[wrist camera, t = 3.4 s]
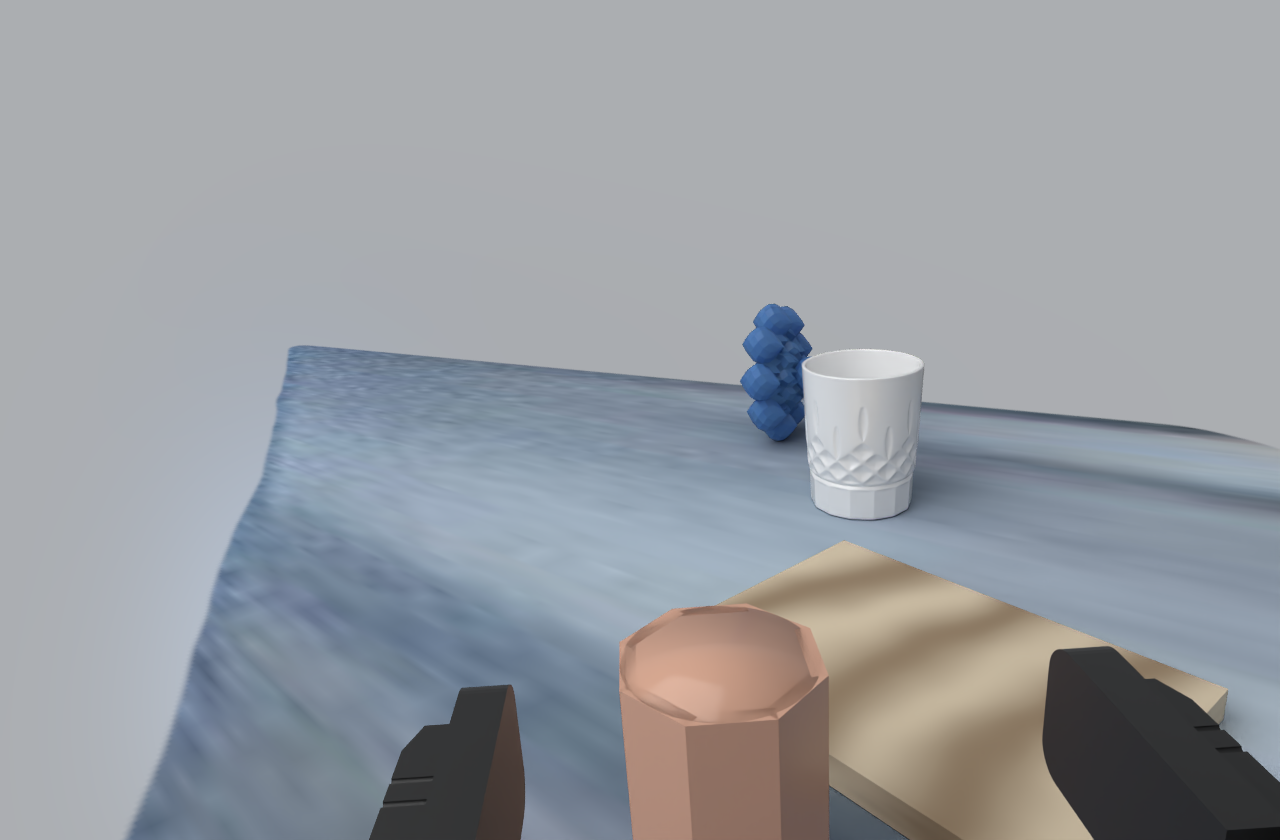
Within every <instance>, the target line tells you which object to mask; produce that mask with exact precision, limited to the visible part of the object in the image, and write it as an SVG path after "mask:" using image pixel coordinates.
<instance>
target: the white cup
mask: <svg viewBox="0 0 1280 840" xmlns="http://www.w3.org/2000/svg"><path fill="white" fill-rule="evenodd" d="M923 375H924V362H923V361H922V360H921V359H920V358H918V357H916V356H913V355H910V354H907V353H902V352H897V351H890V350H877V349H852V350H840V351H832V352H827V353H822V354H818V355H815V356H812V357H810V358H808V359H806V360H805V361H804V362H803V363H802V378H803V394H804V412H805V430H806V441H807V454H808V463H809V467H810V481H811V497H812V500H813V502H814V504H815V506H816V507H817V508H819V509H821V510H822V511H824V512H826V513H828V514H830V515H834V516H838V517H843V518H847V519H860V520H875V519H881V518H882V519H883V518H887V517H892V516H895V515H897V514H899V513H901V512H903V511H905V510H907V509H908V506H909V504H910V501H911V497H912V483H913V470H914V469H915V464H916V454H917V445H918V437H919V425H920V413H921V399H922V387H923Z"/></svg>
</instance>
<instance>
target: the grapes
mask: <svg viewBox="0 0 1280 840" xmlns="http://www.w3.org/2000/svg"><path fill="white" fill-rule="evenodd" d="M753 323H754V324H755V326H756V329H754V330H753V331H752V332H751V333H749V335H748V336H747V338H746V339H745V341H744V343H743V347H744V348H745V350H746V352H747V353H748V355H749V356H750V357H751V358H752V360H753V361H755V362H756V364H755V365H753V366H752V367H751V368H749V369H748V370H747V371H746V373H745V374H744V375H743V377H742V379H741V380H740V382H741V384H742V386H743V387H744V389H745V391H746V392H747V393H748V395H749V396H750V397H751V398H753V399H755V401H754V402H753V404H752V405H751V406H750V408H749V409H748V411H747V413H748V415H749V416H750V418H751V420H752V422H753V423H754V424H755V425H756V427H757V428H758V429H760V430H762V431H765V433H766V434H767V435H768V436H769V437H770V438H771V439H773V440H775V441H779V440H784V439H786V438H787V437H788V436H789V435H790V434H791V433H792V432H793V431H794V429H795V428H796V427H797V424H798V423H799V422H801V420H802V419H803V418H804V416H805V412H804V405H803V403H802V402H801V400H802V398H803V397H804V394H803V378H802V363H803V362H804V361H805V360H806V359H808V358H810V357H807V356H808V354H809V353H810V352H811V350H812V347H811V345H810V344H809V342H808V341H807V340H806V339H805V337H804V336H803V335H802V334H801V333H800V331H801V330H802V328H803V327H804V323H803V322H802V320H801V319H800V317H799V316H798V315H797V313H796V312H795V311H794V310H793V309H791V308H789V307H788V306H784V307H780V306H778V305H776V304H768V305H767V306H765V307H764V308H763V309H762V310H760V311H759V313H758V314H757V316H756V317H755V319H754V321H753Z"/></svg>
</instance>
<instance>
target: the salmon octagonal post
mask: <svg viewBox="0 0 1280 840" xmlns="http://www.w3.org/2000/svg"><path fill="white" fill-rule="evenodd" d="M619 692H620V703H621V714H622V725H623V736H624V747H625V757H626V768H627V779H628V790H629V801H630V811H631V822H632V833H633V840H829V675H828V672H827V670H826V667H825V665H824V662H823V660H822V657H821V654H820V652H819V649H818V647H817V644H816V642H815V639H814V637H813V634H812V632H811V629H810V628H808V627H806V626H803V625H801V624H798V623H796V622H793V621H790V620H788V619H785V618H783V617H780V616H778V615H775V614H772V613H770V612H767V611H765V610H762V609H760V608H757V607H754V606H752V605H749V604H747V603H745V604H732V605H718V606H705V607H691V608H678V609H671V610H670V611H668V612H667V613H665V614H663V615H662V616H660V617H659V618H657V619H655V620H654V621H652V622H651V623H649V624H648V625H646V626H644V627H643V628H641V629H640V630H638V631H637V632H635V633H633V634H632V635H630V636H629V637H627V638H625V639H624V640H622V641H621V642H620V688H619Z"/></svg>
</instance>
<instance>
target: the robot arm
mask: <svg viewBox="0 0 1280 840" xmlns="http://www.w3.org/2000/svg"><path fill="white" fill-rule="evenodd" d="M1042 744H1043V752H1044V757H1045V761H1046V765H1047V768H1048V770H1049V773H1050V775H1051V777H1052V779H1053V781H1054V783H1055V784H1056V786H1057V787H1058V789H1059V790H1060V792H1061V793H1062V794H1063V796H1064V797H1065V799H1066V800H1067V802H1068V803H1069V805H1070V806H1071V807H1072V809H1073V810H1074V812H1075V813H1076V815H1077V816H1078V818H1079V819H1080V820H1081V822H1082V823H1083V825H1084V826H1085V828H1086V829H1087V831H1088V832H1089V833H1090V835H1091V836H1092V838H1093V839H1094V840H1280V782H1279V781H1278V780H1277V779H1276V778H1274V777H1273V776H1272V775H1271V774H1270V773H1269V772H1268V771H1267V770H1266V769H1265V768H1264V767H1263V766H1262V765H1261V764H1260V763H1259V762H1258V761H1257V760H1256V759H1254V758H1253V757H1252V756H1251V755H1250V754H1249V753H1248V752H1243V751H1242V748H1241V745H1240V744H1239V743H1238V742H1237V741H1236V740H1234V739H1233V738H1232V737H1231V736H1230V735H1229V734H1228V733H1227V732H1226V731H1225V730H1220V728H1219V724H1218V723H1217V722H1216V721H1214V720H1213V719H1212V718H1211V717H1210V716H1209V715H1208V714H1207V713H1206V712H1205V711H1204V710H1203V709H1202V708H1201V707H1200V706H1199V705H1198V704H1197V703H1195V702H1194V701H1193V700H1192V699H1191V698H1189V697H1187V696H1185V695H1184V694H1182V693H1180V692H1178V691H1176V690H1175V689H1173V688H1171V687H1169V686H1168V685H1166V684H1164V683H1162V682H1160V681H1159V680H1157V679H1155V678H1152V679H1145V678H1144V677H1143V676H1142V675H1141V674H1140V673H1139V672H1138V671H1137V670H1136V669H1135V668H1134V667H1133V666H1132V665H1131V664H1130V663H1129V662H1128V661H1127V660H1126V659H1125V658H1124V657H1123V656H1122V655H1121V654H1120V653H1119V652H1118V651H1117V650H1115V649H1114V648H1112V647H1110V646H1100V647H1085V648H1070V649H1057V650H1055V651H1054V652H1053V653H1052V655H1051V658H1050V662H1049V671H1048V681H1047V692H1046V702H1045V713H1044V723H1043V734H1042ZM524 809H525V777H524V766H523V758H522V750H521V742H520V734H519V727H518V719H517V711H516V703H515V695H514V691H513V687H512V685H498V686H483V687H468V688H461V690H460V691H459V694H458V697H457V701H456V704H455V707H454V711H453V714H452V717H451V720H450V724H444V725H429V726H424V727H423V728H422V729H421V731H420V732H419V733H418V734H417V735H416V736H415V737H414V738H413V739H412V740H411V741H410V742H409V744H408V745H407V746H406V747H405V748H404V749H403V750H402V752H401V754H400V757H399V760H398V762H397V765H396V768H395V771H394V773H393V776H392V783H391V784H389V787H388V790H387V792H386V795H385V798H384V800H383V808H381V809H380V811H379V814H378V817H377V819H376V822H375V825H374V827H373V830H372V833H371V836H370V838H369V840H520V839H521V832H522V826H523V819H524Z"/></svg>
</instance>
